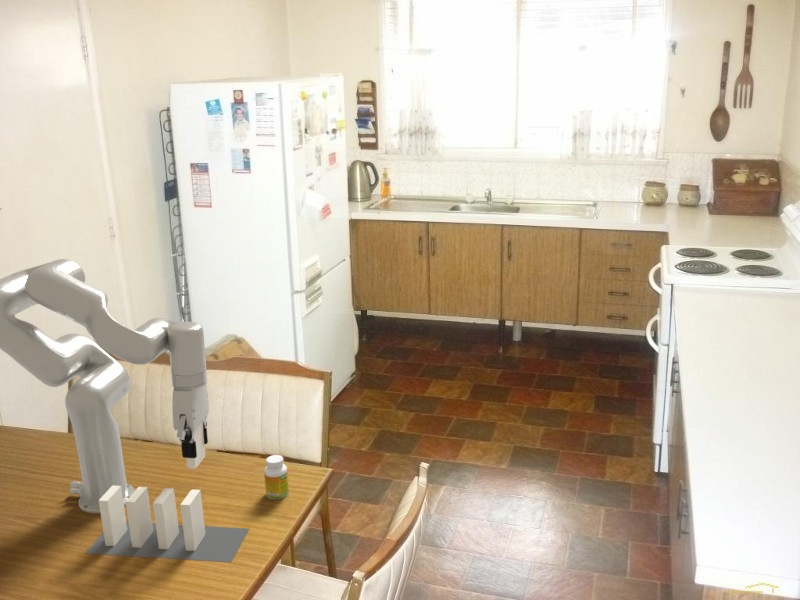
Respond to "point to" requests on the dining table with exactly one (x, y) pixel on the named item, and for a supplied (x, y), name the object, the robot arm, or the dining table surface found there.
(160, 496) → the domino
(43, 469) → the dining table surface
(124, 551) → the mat
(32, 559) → the dining table surface
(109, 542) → the domino
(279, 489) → the supplement bottle
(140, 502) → the domino
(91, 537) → the dining table surface
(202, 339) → the robot arm
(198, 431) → the domino
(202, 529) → the domino
